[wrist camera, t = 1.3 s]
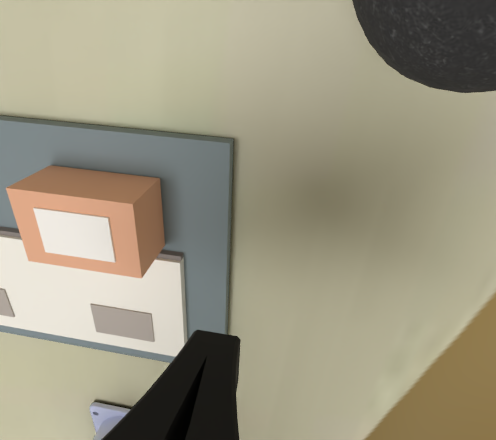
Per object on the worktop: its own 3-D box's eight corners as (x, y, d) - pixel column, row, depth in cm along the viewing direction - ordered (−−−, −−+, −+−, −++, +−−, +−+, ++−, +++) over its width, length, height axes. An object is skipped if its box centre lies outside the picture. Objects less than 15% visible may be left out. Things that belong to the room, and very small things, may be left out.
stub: (165, 245, 19) (140, 279, 17) (65, 231, 20) (27, 262, 17) (159, 178, 17) (131, 205, 15) (49, 165, 18) (4, 188, 15)
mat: (226, 362, 25) (223, 372, 24) (-105, 303, 28) (-115, 310, 27) (233, 138, 17) (229, 143, 16) (-227, 92, 20) (-246, 95, 19)
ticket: (187, 351, 23) (184, 359, 23) (-49, 309, 26) (-57, 315, 25) (183, 252, 20) (179, 259, 19) (-95, 212, 22) (-107, 218, 21)
